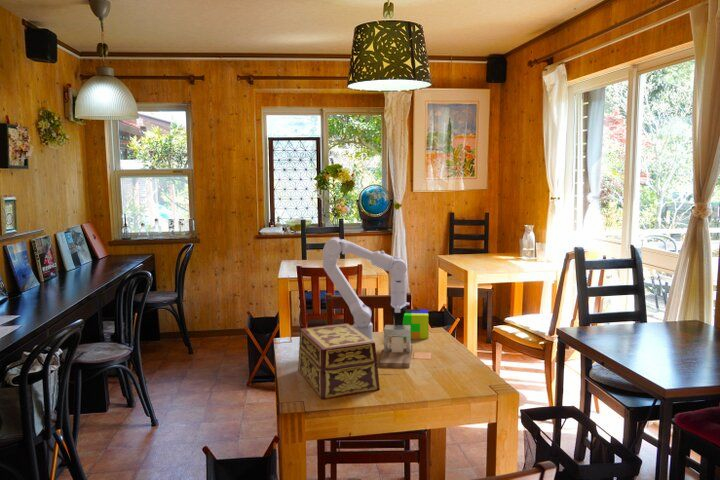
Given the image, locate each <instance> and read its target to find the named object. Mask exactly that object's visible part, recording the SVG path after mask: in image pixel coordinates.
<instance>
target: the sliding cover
mask: <svg viewBox="0 0 720 480" xmlns="http://www.w3.org/2000/svg"><path fill="white" fill-rule="evenodd" d="M392 336H400V337H406V339H405V342H406V344H405V345H406V352H407V353H410V349H411V343H412V340H411V325H403V324H402V325H395V324H385V325H384V328H383V351H384V352H388V349H389V345H390V337H392Z"/></svg>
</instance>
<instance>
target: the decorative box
mask: <svg viewBox="0 0 720 480" xmlns="http://www.w3.org/2000/svg"><path fill="white" fill-rule="evenodd" d="M351 325H352V324H351ZM351 325H350V324H349V323H347V322H346V323H345V322H344V323H337V324H329V325H327V324H326V325H321V326H314V327H313V326H311V327H304V328H300V330H299V347H298V367H297V369H298V372H299V374H301V376H302V377H303V378H304V380H305V381H306V382H307V383H308V384H309V386H310V387H311V388H312V389H313V391H314V392H315V393H316V394H317V395H318V397H320V399H321V400H323V401H324V400H331V399H335V398H336V399H337V398H342V397H347V396H353V395H359V394H365V393H371V392H377V391H380V389H381V387H380V379H379V377H380V376H379V369H378V360H377V357H378V356H377V350H376V349H377V348H376V342H374V340H373V341H372V340H371V339H369V338H368V337H366V336H365V335H363V334H362V333H361V332H359V331H358V330H356V329H355V328H353V327H352V326H351Z"/></svg>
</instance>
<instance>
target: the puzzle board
mask: <svg viewBox="0 0 720 480" xmlns="http://www.w3.org/2000/svg"><path fill="white" fill-rule="evenodd" d="M403 349H404V352H392V344H389V349H388V352H384V350H383V352H382V355H381V357H380V360H379V368H395V369H396V368H400V369H401V368H402V369H403V368H405V369H407V368H408V369H410V365H411V362H412V361H411V360H412V353H413V345H411V349H410V353H407V352H406V344H405V345H404V344H403Z"/></svg>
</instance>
